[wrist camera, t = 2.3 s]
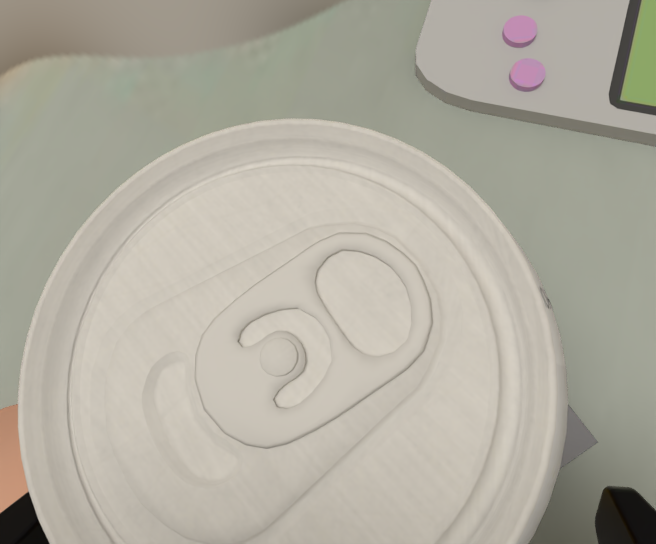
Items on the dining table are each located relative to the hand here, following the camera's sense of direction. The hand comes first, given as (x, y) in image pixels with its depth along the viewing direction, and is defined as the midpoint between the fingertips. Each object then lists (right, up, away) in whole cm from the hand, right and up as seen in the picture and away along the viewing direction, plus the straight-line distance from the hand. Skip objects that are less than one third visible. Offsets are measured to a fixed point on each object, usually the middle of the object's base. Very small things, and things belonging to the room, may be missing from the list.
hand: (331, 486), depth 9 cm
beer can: (+2, -1, +10) cm, 11 cm away
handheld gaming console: (+12, +14, +13) cm, 23 cm away
